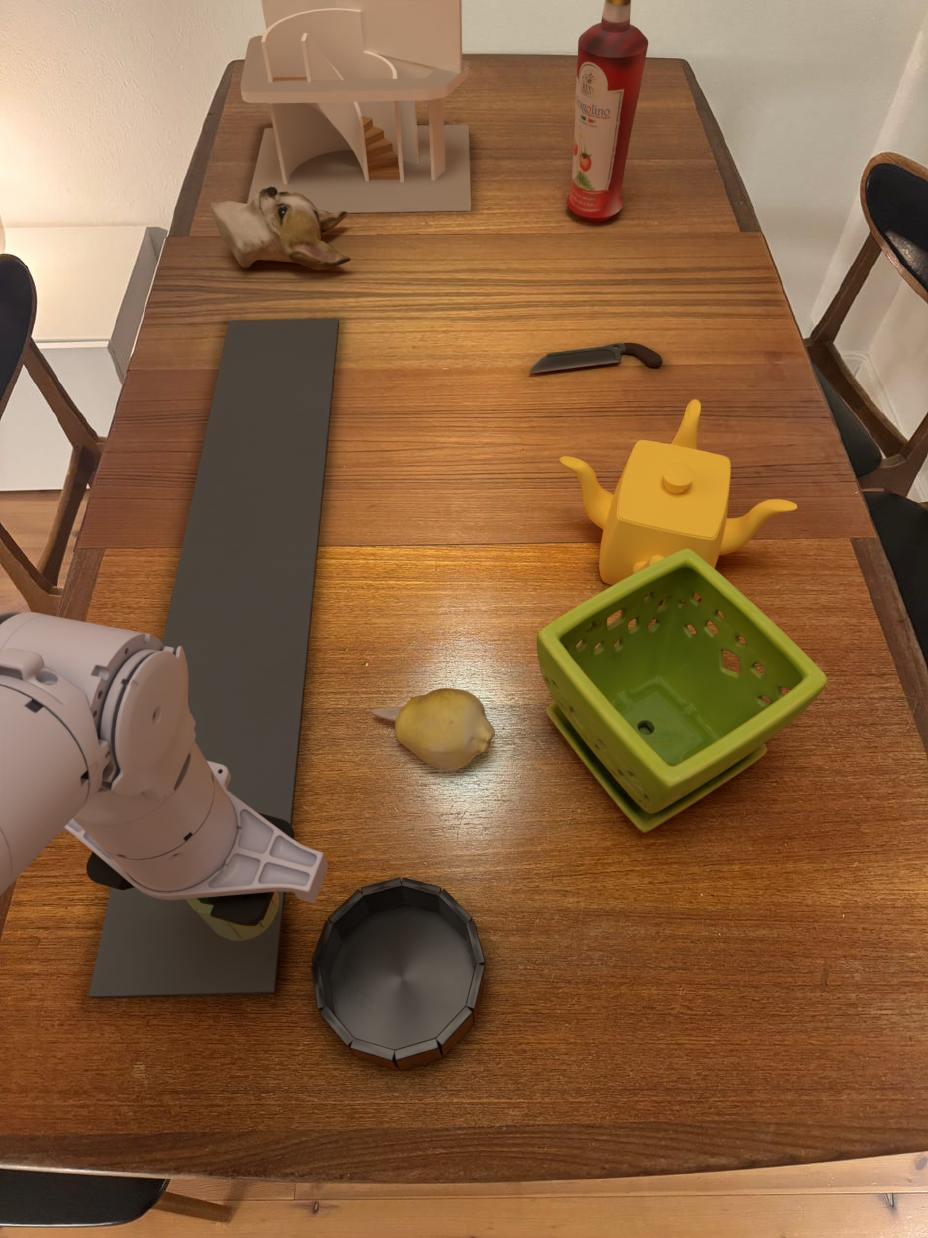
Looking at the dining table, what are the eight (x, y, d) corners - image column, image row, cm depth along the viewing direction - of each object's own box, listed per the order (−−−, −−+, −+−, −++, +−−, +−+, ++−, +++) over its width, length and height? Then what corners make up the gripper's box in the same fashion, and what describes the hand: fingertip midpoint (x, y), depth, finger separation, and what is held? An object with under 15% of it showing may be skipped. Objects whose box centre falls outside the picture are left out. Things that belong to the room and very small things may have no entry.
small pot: (269, 946, 53) (247, 919, 48) (197, 935, 54) (168, 907, 49) (288, 876, 56) (269, 843, 51) (219, 865, 56) (194, 831, 51)
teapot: (637, 642, 72) (657, 569, 64) (546, 527, 79) (554, 449, 71) (775, 572, 76) (811, 496, 68) (677, 469, 83) (698, 389, 75)
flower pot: (781, 766, 65) (839, 680, 55) (635, 867, 61) (668, 794, 51) (659, 636, 72) (690, 536, 62) (520, 718, 68) (528, 627, 57)
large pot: (458, 1090, 53) (457, 1080, 50) (299, 1042, 55) (286, 1029, 51) (499, 922, 59) (500, 902, 55) (354, 883, 61) (345, 861, 57)
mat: (275, 993, 57) (274, 992, 56) (90, 998, 57) (88, 996, 56) (339, 322, 96) (338, 318, 95) (229, 324, 96) (228, 320, 95)
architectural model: (244, 214, 108) (193, -5, 88) (264, 127, 120) (223, -82, 100) (471, 210, 108) (469, -10, 88) (468, 124, 120) (467, -87, 100)
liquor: (551, 214, 107) (572, -63, 84) (586, 188, 110) (616, -84, 87) (600, 235, 104) (635, -44, 81) (635, 209, 107) (678, -67, 84)
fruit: (388, 686, 70) (509, 705, 67) (371, 760, 68) (494, 782, 65) (365, 666, 64) (495, 685, 62) (345, 745, 63) (479, 769, 60)
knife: (651, 342, 93) (652, 337, 92) (663, 367, 91) (664, 361, 90) (523, 358, 92) (523, 353, 91) (531, 384, 89) (531, 378, 89)
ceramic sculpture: (209, 162, 98) (344, 161, 99) (223, 234, 105) (348, 231, 107) (204, 216, 92) (347, 214, 94) (219, 288, 99) (352, 285, 101)
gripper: (332, 758, 40) (364, 858, 52) (54, 687, 43) (142, 797, 54) (274, 907, 37) (321, 980, 48) (-28, 820, 39) (84, 909, 50)
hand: (223, 891), depth 51 cm, fingers closed on small pot, 4 cm apart
